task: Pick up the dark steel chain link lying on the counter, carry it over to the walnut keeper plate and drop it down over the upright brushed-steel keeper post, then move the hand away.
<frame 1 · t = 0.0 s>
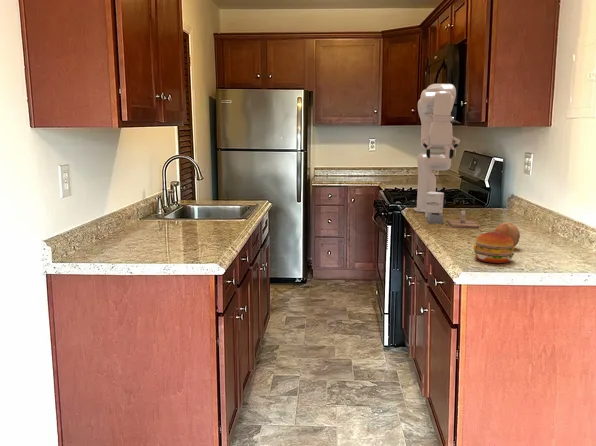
hand: (439, 158, 248), 31 cm above the worktop, tool pointing down, fingers open, 9 cm apart
onion: (505, 248, 211), on the worktop
supplement box: (433, 217, 278), on the worktop
link: (435, 222, 265), on the worktop
burger: (492, 261, 192), on the worktop
keeper: (462, 224, 258), on the worktop
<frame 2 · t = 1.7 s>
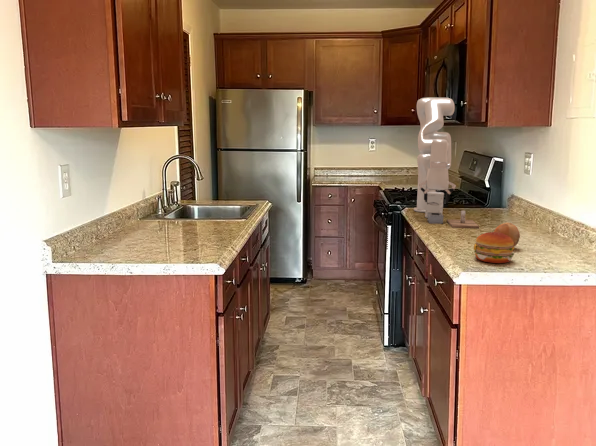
hand: (436, 202, 262), 10 cm above the worktop, tool pointing down, fingers open, 9 cm apart
nothing on the worktop moved.
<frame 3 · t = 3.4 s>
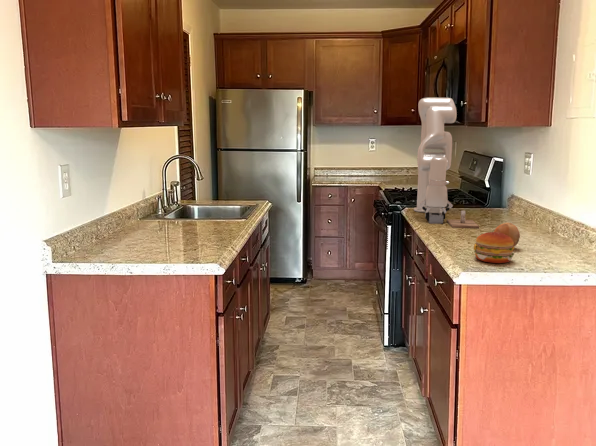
hand: (435, 220, 265), 1 cm above the worktop, tool pointing down, fingers closed on link, 6 cm apart
link: (435, 222, 265), on the worktop, touching gripper
everything else where it was.
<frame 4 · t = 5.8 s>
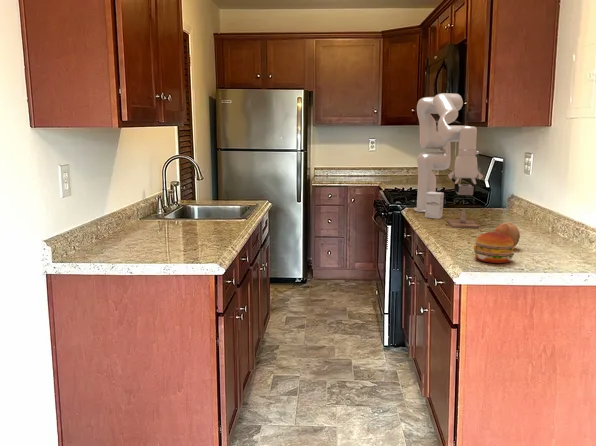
hand: (464, 192, 256), 15 cm above the worktop, tool pointing down, fingers closed on link, 6 cm apart
link: (464, 193, 256), point 15 cm above the worktop, touching gripper
everything else where it was.
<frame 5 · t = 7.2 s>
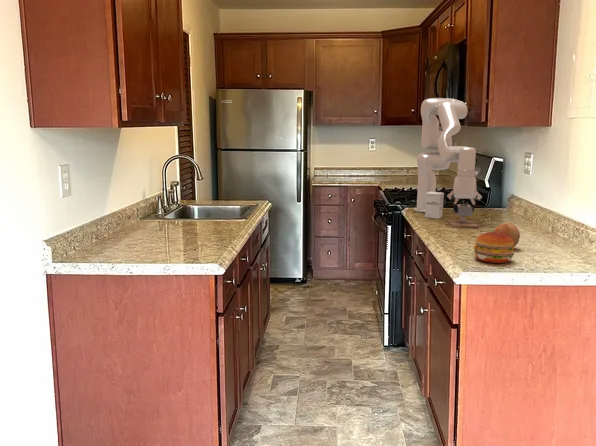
hand: (463, 212, 257), 6 cm above the worktop, tool pointing down, fingers closed on link, 6 cm apart
link: (463, 214, 257), point 5 cm above the worktop, touching gripper
everything else where it was.
when the fingers open (4 cm above the worktop, at t = 8.4 s): link drops 2 cm, resting on keeper.
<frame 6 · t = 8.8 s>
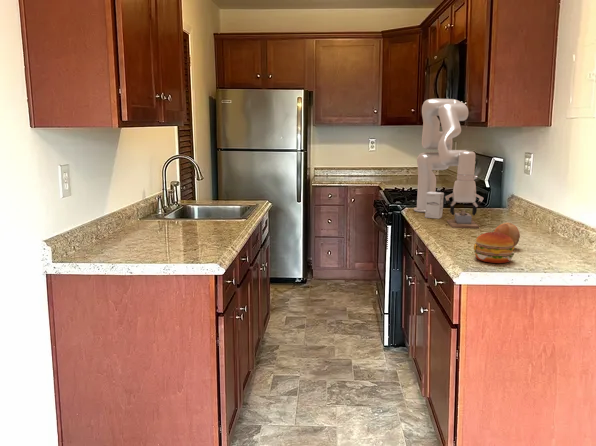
hand: (463, 214, 258), 5 cm above the worktop, tool pointing down, fingers open, 9 cm apart
link: (462, 222, 258), point 1 cm above the worktop, touching keeper
everything else where it was.
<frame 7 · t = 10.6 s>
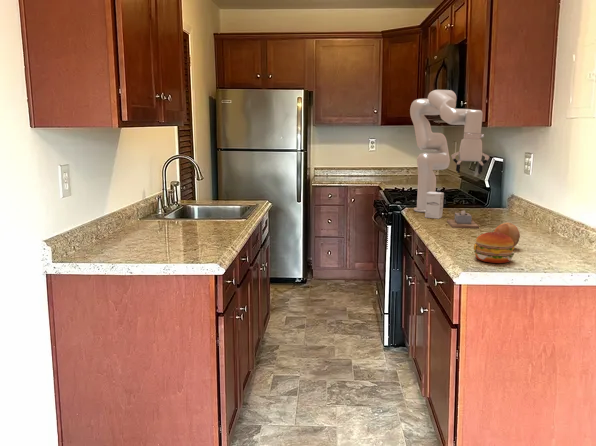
hand: (468, 173, 261), 24 cm above the worktop, tool pointing down, fingers open, 9 cm apart
nothing on the worktop moved.
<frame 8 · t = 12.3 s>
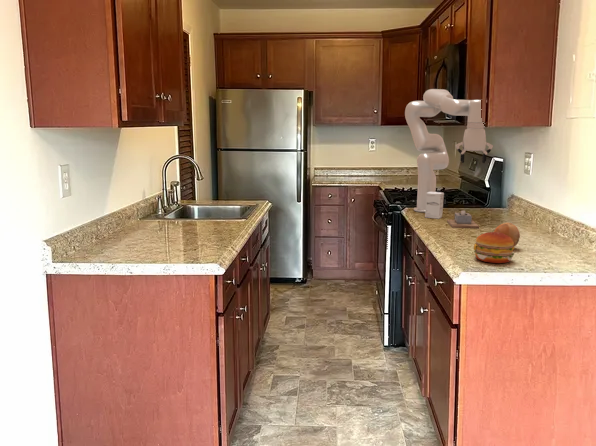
hand: (473, 162, 263), 28 cm above the worktop, tool pointing down, fingers open, 9 cm apart
nothing on the worktop moved.
at the end: link 0.0 cm off-centre on the keeper, point 1.0 cm above the keeper's base; the gripper is holding nothing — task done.
